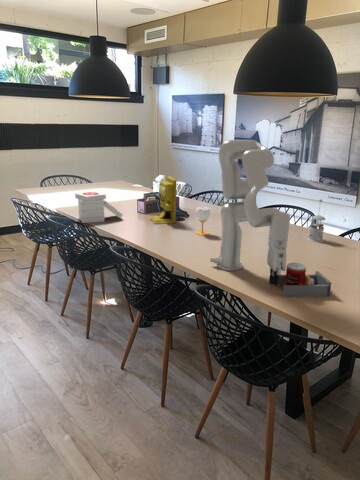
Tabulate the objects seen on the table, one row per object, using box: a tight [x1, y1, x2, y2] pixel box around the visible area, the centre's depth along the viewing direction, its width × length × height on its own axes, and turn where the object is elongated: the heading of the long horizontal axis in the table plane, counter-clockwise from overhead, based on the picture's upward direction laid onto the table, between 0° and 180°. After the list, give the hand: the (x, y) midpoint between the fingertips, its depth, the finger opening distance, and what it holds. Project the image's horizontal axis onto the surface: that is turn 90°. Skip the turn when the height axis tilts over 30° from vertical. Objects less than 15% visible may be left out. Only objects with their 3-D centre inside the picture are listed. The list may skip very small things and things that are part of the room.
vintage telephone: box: [149, 175, 177, 225], centre depth 270 cm, size 31×14×30 cm, turn 17°
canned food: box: [285, 262, 307, 285], centre depth 165 cm, size 8×8×11 cm
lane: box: [274, 270, 332, 298], centre depth 166 cm, size 20×12×6 cm, turn 95°
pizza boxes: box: [74, 190, 124, 224], centre depth 272 cm, size 19×30×18 cm, turn 112°
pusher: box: [304, 272, 314, 285], centre depth 166 cm, size 4×9×7 cm, turn 5°
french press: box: [306, 199, 326, 243], centre depth 235 cm, size 10×12×25 cm
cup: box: [194, 206, 211, 236], centre depth 244 cm, size 9×9×16 cm
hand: (273, 283), depth 165 cm, fingers closed
